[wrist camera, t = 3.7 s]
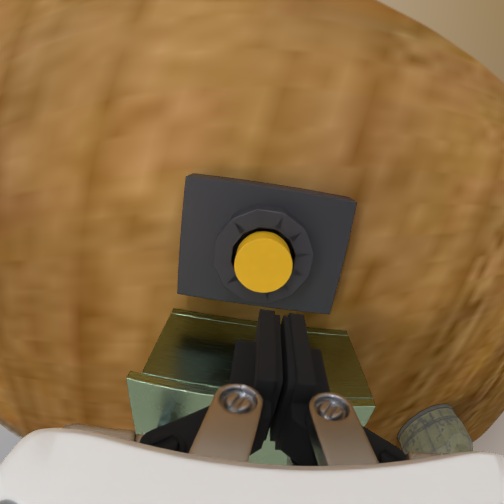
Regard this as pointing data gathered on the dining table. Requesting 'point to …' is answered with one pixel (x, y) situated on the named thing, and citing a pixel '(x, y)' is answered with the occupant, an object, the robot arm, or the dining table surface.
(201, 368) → the green box
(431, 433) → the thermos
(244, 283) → the button
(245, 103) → the dining table surface
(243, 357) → the robot arm
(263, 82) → the dining table surface
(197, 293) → the control box
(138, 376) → the lid
